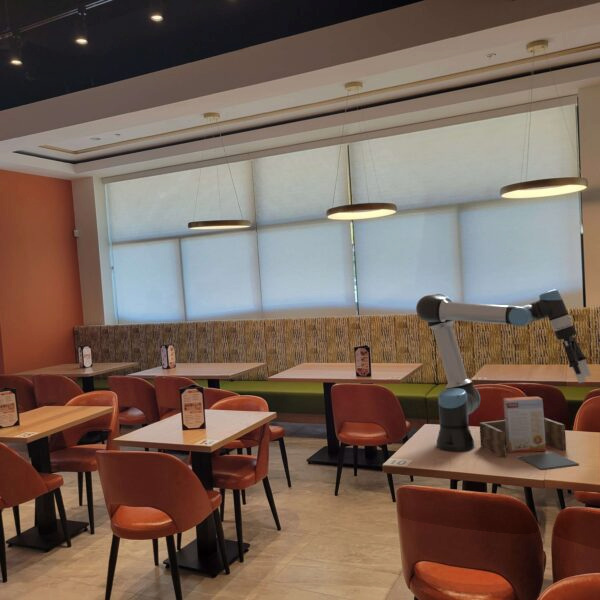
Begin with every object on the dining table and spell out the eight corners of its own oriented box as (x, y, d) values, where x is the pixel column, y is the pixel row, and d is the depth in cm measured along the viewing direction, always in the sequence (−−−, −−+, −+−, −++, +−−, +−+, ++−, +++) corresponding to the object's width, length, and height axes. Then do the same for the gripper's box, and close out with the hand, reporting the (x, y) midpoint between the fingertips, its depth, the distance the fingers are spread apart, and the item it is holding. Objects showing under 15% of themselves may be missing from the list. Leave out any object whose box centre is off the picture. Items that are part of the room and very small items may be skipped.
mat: (518, 458, 220) (518, 456, 220) (553, 453, 223) (553, 452, 223) (541, 469, 205) (541, 468, 205) (578, 465, 208) (578, 463, 208)
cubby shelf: (480, 446, 238) (479, 422, 238) (541, 439, 243) (539, 416, 243) (502, 457, 221) (500, 432, 221) (566, 449, 226) (564, 424, 226)
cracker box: (541, 447, 232) (538, 395, 232) (546, 451, 226) (543, 398, 226) (505, 448, 234) (502, 397, 233) (509, 452, 228) (506, 400, 227)
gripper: (567, 327, 215) (591, 381, 211) (578, 322, 236) (599, 371, 232) (547, 334, 219) (570, 387, 215) (559, 328, 240) (580, 376, 236)
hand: (585, 379), depth 224 cm, fingers open, 13 cm apart
